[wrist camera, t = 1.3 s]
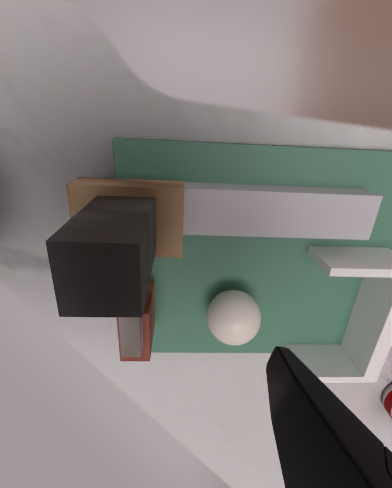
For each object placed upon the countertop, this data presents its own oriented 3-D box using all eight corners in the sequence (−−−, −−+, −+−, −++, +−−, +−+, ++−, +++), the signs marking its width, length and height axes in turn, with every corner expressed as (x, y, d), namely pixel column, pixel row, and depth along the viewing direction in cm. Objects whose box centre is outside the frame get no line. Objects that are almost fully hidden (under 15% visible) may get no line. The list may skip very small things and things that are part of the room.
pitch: (128, 343, 25) (118, 387, 21) (115, 137, 18) (96, 142, 14) (353, 345, 27) (384, 386, 23) (421, 152, 20) (484, 160, 16)
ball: (203, 320, 24) (207, 357, 20) (206, 279, 22) (211, 311, 18) (250, 321, 24) (263, 358, 20) (257, 280, 22) (271, 312, 18)
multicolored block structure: (105, 323, 23) (53, 458, 14) (89, 171, 18) (-7, 225, 9) (179, 323, 23) (177, 455, 14) (184, 175, 18) (185, 230, 9)
